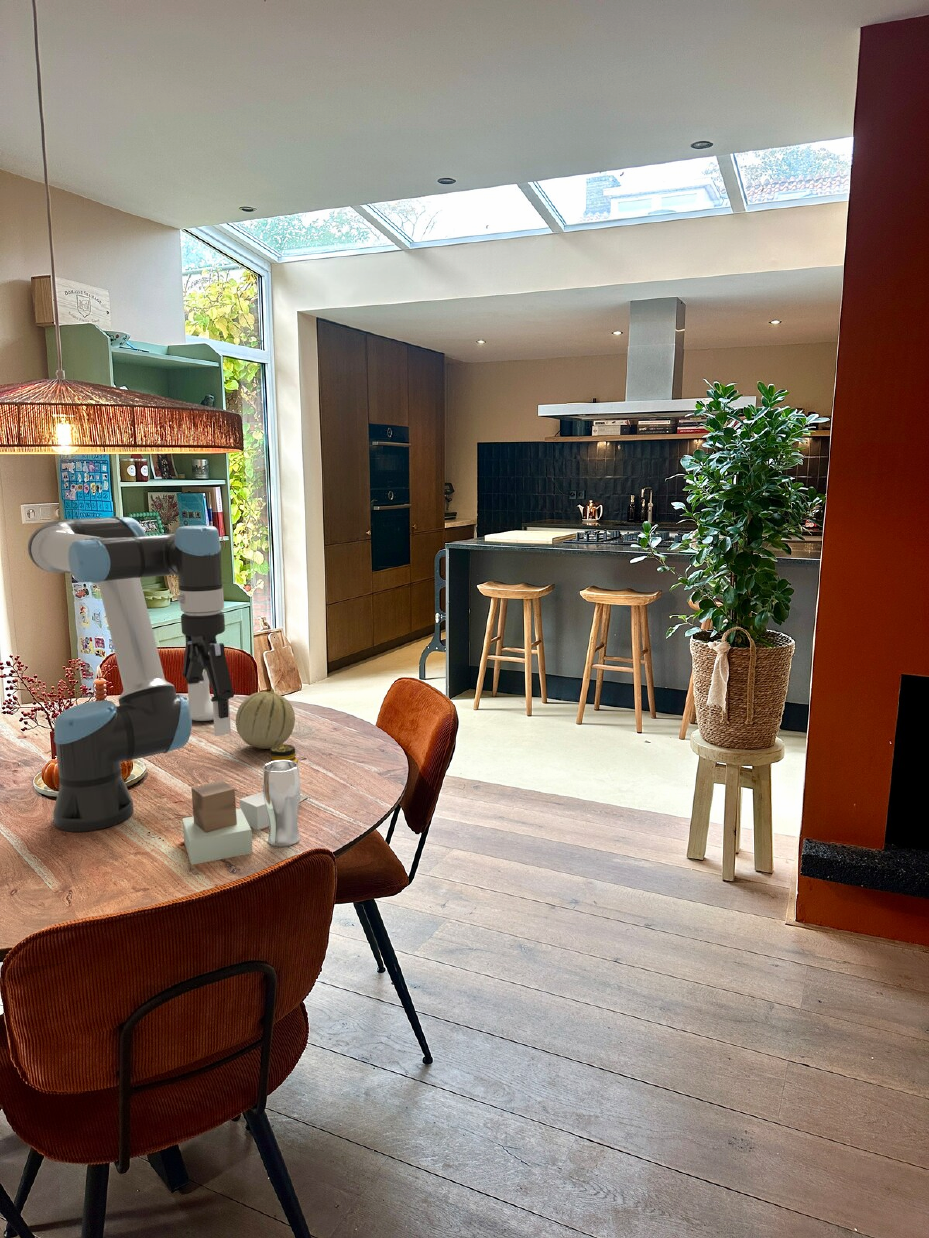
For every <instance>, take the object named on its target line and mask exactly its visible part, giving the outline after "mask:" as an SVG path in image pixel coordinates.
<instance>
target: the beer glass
mask: <svg viewBox="0 0 929 1238" xmlns="http://www.w3.org/2000/svg"><path fill="white" fill-rule="evenodd" d="M262 791H263V796H264V801H265V806H266V810H267V814H268V818H269V825H270V826H269V832H268V839H267V842H268V844H269V845H271V846H273V847H278V848H281V847H282V848H283V847H290V846H294V845H295V844H297V843H298V842H300V840H301V834H300V830H299V824H298V817H299V815H298V814H299V813H298V812H299V806H300V802H299V800H300V795H301V781H300V772H299V763H298V764H297V763H296V762H294V761H290V760H278V761H273V762H268V763H264V765H263V766H262Z"/></svg>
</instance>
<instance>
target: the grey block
mask: <svg viewBox="0 0 929 1238" xmlns="http://www.w3.org/2000/svg"><path fill="white" fill-rule="evenodd" d="M239 808H241V810H242V812H243V814H244V816H245V818H246V820H247V822H248V824H249V826H250V828H253V829H255V830H257V831H259V830H262V829H265V828H269V827H270V825H269V818H268V814H267V810H266V806H265V801H264V796H263V790H262V791H260V792H257V793H254V794H251V795H248V796H246V797H242V798H239Z"/></svg>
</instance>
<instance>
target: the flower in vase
mask: <svg viewBox="0 0 929 1238" xmlns="http://www.w3.org/2000/svg"><path fill="white" fill-rule="evenodd" d="M202 675H203V678H204V679H203V680H204V681H199V682H203V692H204V707H205V716H199V717H194V718H192V721H196V722H207V721H214V717H213V702H211V698H212V697H213V696H211V693H210V682H209V679H208V675H207V672H206V669H204V670H203V673H202Z"/></svg>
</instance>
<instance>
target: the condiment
mask: <svg viewBox="0 0 929 1238" xmlns="http://www.w3.org/2000/svg"><path fill="white" fill-rule="evenodd" d="M269 753H270V755H269V759H270V760H269V762H273V761H278V760H290V761H294V762H296V763H297V764H298V765H299V762H298V759H297V757H296V755H297V753H296V747H295V746H294V745H292V744H281V745H278V746H274V747H273V748H271V749H269ZM269 762H268V763H269ZM307 798H309V796H307V795H302V794H300V800H299V803H301V802H302V801H304V800H305V799H307Z"/></svg>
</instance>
